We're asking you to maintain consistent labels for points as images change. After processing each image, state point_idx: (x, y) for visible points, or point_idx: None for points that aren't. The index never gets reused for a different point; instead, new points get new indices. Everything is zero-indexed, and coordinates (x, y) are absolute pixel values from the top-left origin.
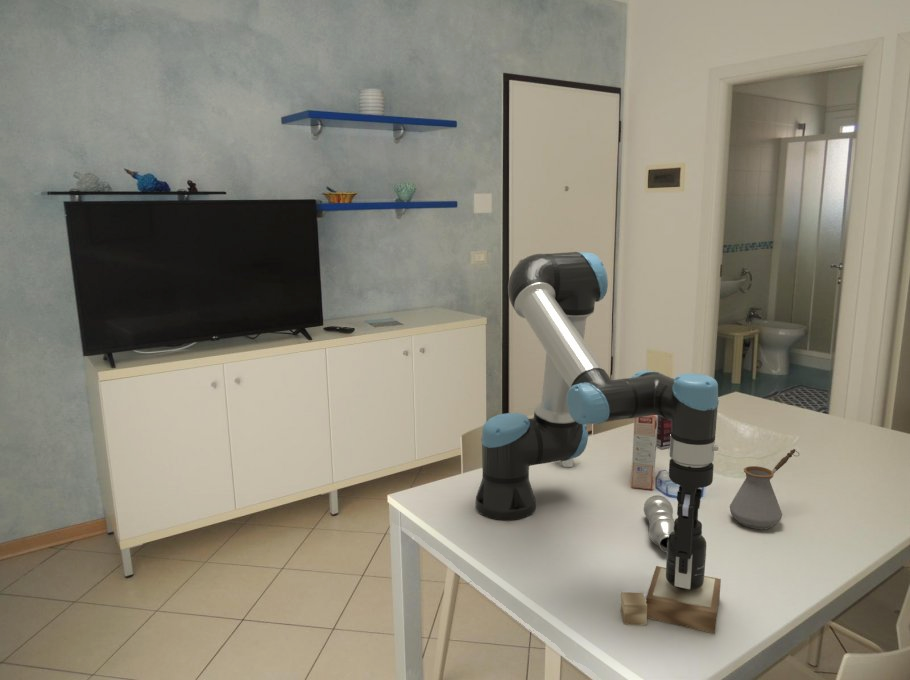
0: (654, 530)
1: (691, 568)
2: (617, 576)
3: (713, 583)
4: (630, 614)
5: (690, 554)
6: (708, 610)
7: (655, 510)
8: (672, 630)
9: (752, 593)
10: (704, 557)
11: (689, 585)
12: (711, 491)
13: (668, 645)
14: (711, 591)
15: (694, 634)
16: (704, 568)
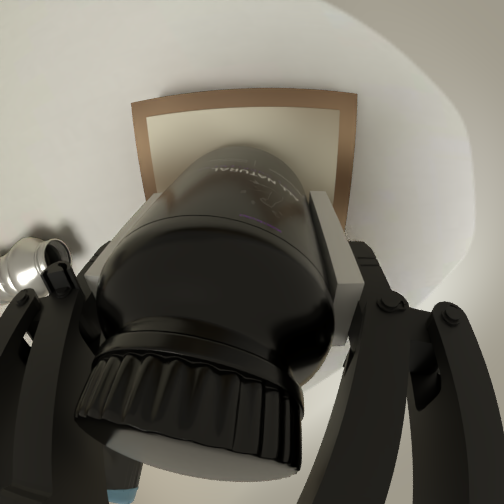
0: (46, 291)
1: (328, 232)
2: None
3: (175, 115)
4: None
5: (459, 323)
6: (350, 116)
7: (7, 296)
8: (359, 190)
9: (103, 41)
10: (247, 191)
11: (327, 199)
12: None
13: (411, 195)
14: (233, 113)
15: (359, 140)
16: (238, 163)
